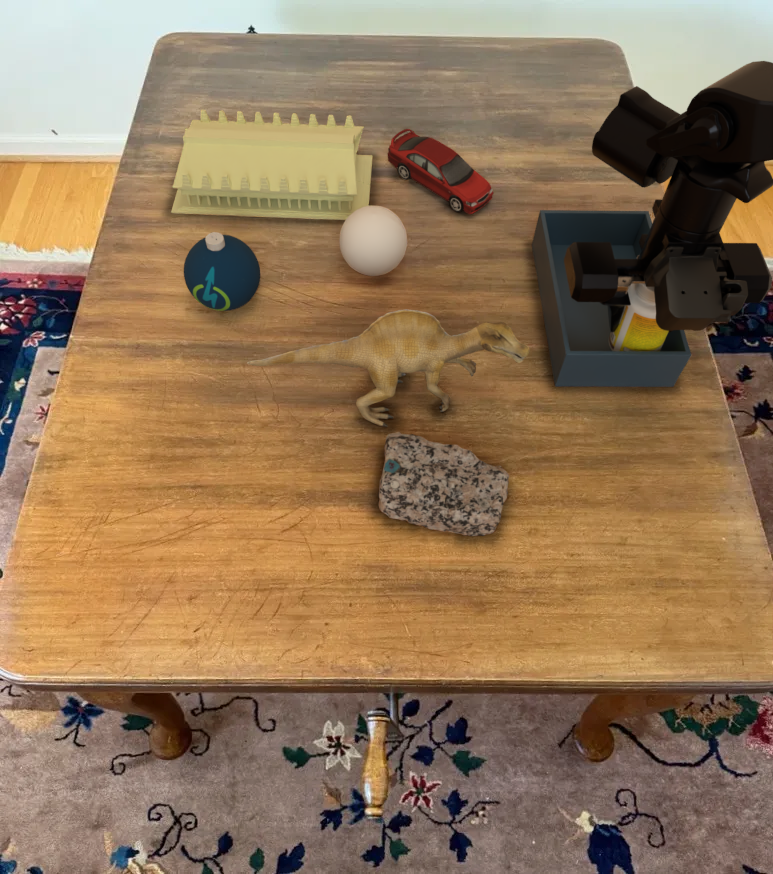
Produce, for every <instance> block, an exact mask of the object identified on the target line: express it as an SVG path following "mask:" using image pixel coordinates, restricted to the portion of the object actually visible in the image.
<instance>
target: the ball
mask: <svg viewBox="0 0 773 874" xmlns="http://www.w3.org/2000/svg"><path fill="white" fill-rule="evenodd" d="M403 223H404V222H403V221H402V219H401V218H400V217H399V216H398V215H397V214H396V212H394V211H393V210H390V209H389V208H387V207H385V206H381V205H369V206H365V207H362V208H359V209H357V210H356V211H354V212H353V213H352V214H351V215H349V216H348V218H347V219H346V220H344V222H343V223H342V225H341V228H340V231H339V240H338V241H339V250H340V253H341V255H342V258H343V260H344V261H345V263H346V264H347V265H348V266H349V267H350V268H351V269H353V270H354V271H356V273H359V274H361V275H364V276H367V277H368V276H369V277H379V276H383V275H385V274H388V273H390V272H392V271H393V270H395V269H396V268H397V267H398V266H399V265H400V263H401V262H402V260H403V259H404V257H405V256H406V252H407V247H408V235H407V229H406V227H405V225H404V224H403Z"/></svg>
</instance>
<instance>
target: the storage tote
mask: <svg viewBox="0 0 773 874" xmlns="http://www.w3.org/2000/svg"><path fill="white" fill-rule="evenodd" d="M652 223H653V221H652V217H651V215H650V212H649V210H589V209H588V210H585V209H583V210H581V209H580V210H579V209H577V210H573V209H572V210H571V209H570V210H569V209H566V210H565V209H564V210H563V209H540V210H539V213H538V217H537V221H536V225H535V230H534V233H533V234H534V235H533V238H532V242H531V250H532V255H533V261H534V267H535V275H536V279H537V287H538V293H539V298H540V303H541V308H542V309H541V310H542V316H543V321H544V328H545V335H546V341H547V347H548V352H549V359H550V365H551V370H552V377H553V384H554V387H567V388H568V387H569V388H571V387H577V388H579V387H583V388H584V387H588V388H589V387H592V388H593V387H595V388H596V387H598V388H600V387H603V388H604V387H606V388H618V387H619V388H620V387H621V388H635V387H636V388H653V387H654V388H674V386H675V385H676V383H677V382H678V380H679V378H680V376H681V374H682V373H683V371H684V370H685V367H687V364H688V362H689V360H690V359H691V357H692V352H691V349H690V348H691V347H690V345H689V342H688V339H687V334H686V332H685V331H686V330H673V331H672V332H668V334H667V336H666V338H665V341H664V343H663V345H662V348H661V350H660V351H612V350H611V348H610V345H609V336H610V333H611V331H610V327H609V318H608V307H607V305H602V304H601V303H600V302H577V301H575V300H574V299H572V298H571V295H570V290H569V284H568V279H567V274H566V269H565V264H564V258H565V255H566V251H567V248H568V247H569V246H570V245H571V244H572V243H573V242H611V246H612V250H613V254H614V258H615V259H636V258H637V256H639V255H640V253H641V248H640V245H639V240H640V238H641V235H642V234H648V233H649V231H650V228H651V226H652Z"/></svg>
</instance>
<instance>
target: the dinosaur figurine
mask: <svg viewBox="0 0 773 874" xmlns="http://www.w3.org/2000/svg"><path fill="white" fill-rule="evenodd" d="M480 351H486V352H490V353H495V354H502V355H503V356H505V357H507V358H511V360H513V361H514V362H515V363H517V364H522V363H523V362H524V361H525V359H526V358H527V357H528V356H529V354H530V348H529V345H527V344H525V343H524V342H521V341H520V340H518V339H517V337H516V335H515V334H514V332H513V330H512V328H511V326H510V325H508V324H506V323H505V322H504V321H499V322H489V321H487V322H486V321H484V322H482V323H480V324H478V325H477V326H475V327H473V328H471V329H470V330H468V331H465V332H462V333H459V334H452V335H450V334H448V332H446V331H445V329H444V327H442V325H441V322H440V320H438V319H437V318H436V316H435V315H433V314H431V313H429V312H427V311H421V310H417V309H407V308H405V309H398V310H394V311H389V312H386V313H385V314H384V315H381V316H378V317H377V318H376V320H375V321H373V322H372V323H370V325H369V326H368V327H367V328H366V329H364V330H363V331H362V333H360V334H359V335H357V336H353V337H350V338H349V339H343V340H341V341H340V340H338V341H332V342H329V343H321V344H316V345H311V346H307V347H302V348H298V349H295V350H290V351H285V352H283V353H280V354H276V355H273V356H269V357H265V358H262V359H261V358H260V359H254V360H249V361H247V362H246V364H247V365H249V366H252V367H269V366H279V365H292V364H293V365H296V364H300V365H301V364H316V365H317V364H318V365H334V366H335V365H337V366H342V367H347V368H354V369H358V368H360V369H365V370H366V371H367V372H368V375H369V377H370V380H371V381H372V383H373V384H374V386H375V387H373V388H372V389H371V390H370V391H368V392H367V394H365V395H362V396H360V397H358V398H357V399H356V401H355V406H356V408H357V411H359V414H360V415H361V416H362V418H363V419H365V420H366V421H368V422H370V423H372V424H375V425H377V426H379V427H385V428H388V427H389V425H388V424H387V423H385V422H384V421H383V420H388V419H390V420H391V419H394V416H393V415H391V414H389V413H385V412H389V411H390V408H387V407H385V406H378V407H372V406H371V405H373V404H377V403H380V402H382V401H385V400H387V399H391V398H393V397H394V396H395V395H396V390H397V386H398V384H402V383H404V381H403V380H401V379H399V378H402V377H405V376H407V374H412V373H413V374H414V373H417V372H418V373H419V372H420V373H421V372H422V373H424V378H425V382H426V390H428V391H429V392H430V393H431V394H432V395H434V396H436V397H437V398H439V399H440V400H441V401H442V402H440V403H441V405H439V406H438V408H439V409H440V410H439V412H440V413H444V412H446V411H447V410H448V409H449V408H450V401H451V399H452V397H451V396H450V394H448V393H446V392H444V391H443V390H442V388H441V387H440V386H439V385H438V384H439V382H440V378H441V371H442V370H443V368H444V366H445V364H458V365H460V366H461V367H463V368H464V369H465V370H467V372H469V373H468V374H469V375H470V377H473V376H475V375H474V374H475V373H476V371H477V362H475V361H474V360H472V359H471V358H466V357H465V358H464V356H467V355H471V354H474V353H477V352H480ZM370 406H371V407H370Z"/></svg>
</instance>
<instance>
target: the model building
mask: <svg viewBox="0 0 773 874" xmlns="http://www.w3.org/2000/svg"><path fill="white" fill-rule="evenodd" d="M199 117H200V119H191V123H190V124H189V128H187V127H186V128H184V134H183V135H182V140H183V147H182V148H181V155H180V156H179V163H178V164H177V170H176V172H175V177H174V180H173V184H172V185H171V188H172V189H177V190H176V192H175V193H176V194H175V198H174V201H173V204H172V208H171V211H170V213H171V214H179V215H180V214H181V215H202V216H203V215H205V216H229V217H230V216H233V217H255V218H256V217H257V218H279V219H283V218H284V219H307V220H330V221H345V220H346V219H347V218H348V216H349V215H351V214H352V213H353V212H354V211H356V210H357V209H359V208H362V207H365V206H370V194H371V192H370V191H371V181H372V170H373V169H372V167H373V155H372V154H358V152H359V145H360V141H361V139H362V134H363V131H364V128H365V126H361V125H355V122H354V119H353V115H346V119H345V123H344V125H337V123H336V120H335V116H334V115H333V114H328V116H327V121H326V124H319V122H318V119H317V117H316V113H311V114H309V119H308V121H309V122H308V123H301V122H300V119H299V116H298V114H297V113H294V112H293V113H291V116H290V117H291V120H290V123H289V122H287V123H284V122H283V120H282V118H281V116H280V113H279V112H273V117H272V122H265V121H264V117H263V115H262V114H261V112H260V111H255V115H254V121H247V119H246V118H245V115H244V113H243V111H241V110H237V112H236V121H235V120H234V121H233V120H228V117H227V115H226V112H225V111H224V110H219V111H218V119H217V120H211V118H210V117H209V114H208V112H207V110H206V109H200V116H199Z"/></svg>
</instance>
